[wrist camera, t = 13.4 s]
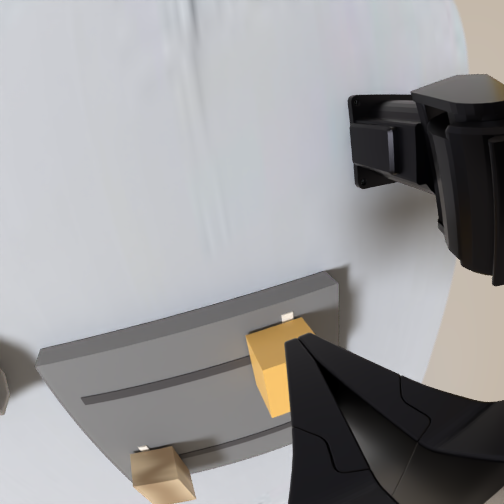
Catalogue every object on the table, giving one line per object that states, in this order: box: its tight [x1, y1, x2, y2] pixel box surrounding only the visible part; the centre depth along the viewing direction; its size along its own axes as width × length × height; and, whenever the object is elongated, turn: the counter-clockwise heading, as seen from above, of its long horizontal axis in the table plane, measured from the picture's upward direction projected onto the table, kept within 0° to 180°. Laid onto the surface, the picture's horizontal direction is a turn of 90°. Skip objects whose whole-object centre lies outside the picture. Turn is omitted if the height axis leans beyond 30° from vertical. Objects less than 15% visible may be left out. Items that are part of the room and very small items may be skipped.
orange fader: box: [245, 317, 315, 418], centre depth 21 cm, size 4×5×4 cm
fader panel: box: [35, 271, 339, 483], centre depth 24 cm, size 22×18×2 cm
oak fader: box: [130, 446, 196, 504], centre depth 22 cm, size 4×5×4 cm
